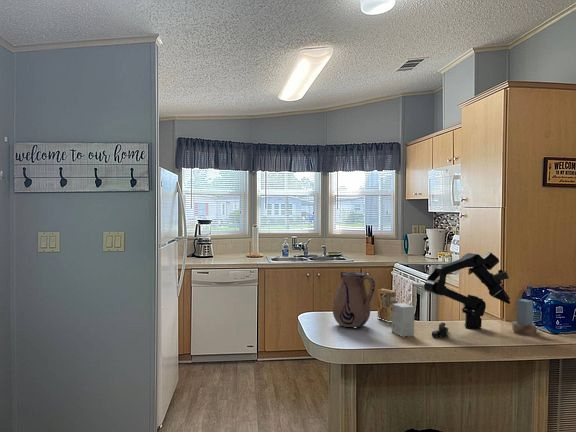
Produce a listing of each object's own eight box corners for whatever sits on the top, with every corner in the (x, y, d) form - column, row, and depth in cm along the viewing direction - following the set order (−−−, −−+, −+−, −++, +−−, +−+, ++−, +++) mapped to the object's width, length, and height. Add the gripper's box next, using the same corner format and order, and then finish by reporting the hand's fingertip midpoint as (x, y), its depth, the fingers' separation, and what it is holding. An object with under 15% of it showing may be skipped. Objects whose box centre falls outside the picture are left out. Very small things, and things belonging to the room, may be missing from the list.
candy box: (396, 322, 220) (396, 291, 220) (389, 323, 218) (390, 291, 218) (382, 318, 228) (383, 288, 227) (376, 319, 225) (377, 289, 225)
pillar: (526, 325, 203) (526, 301, 203) (516, 323, 207) (517, 299, 207) (532, 324, 205) (532, 300, 205) (523, 322, 209) (523, 299, 209)
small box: (414, 336, 196) (414, 306, 196) (401, 337, 194) (402, 307, 193) (403, 331, 203) (404, 302, 203) (391, 332, 201) (392, 303, 201)
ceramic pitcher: (343, 319, 223) (344, 269, 223) (383, 326, 211) (384, 273, 210) (325, 326, 209) (326, 273, 209) (366, 334, 197) (367, 277, 196)
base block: (513, 334, 204) (514, 325, 204) (512, 329, 212) (512, 320, 212) (536, 336, 200) (536, 327, 200) (533, 331, 209) (533, 323, 209)
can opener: (447, 340, 190) (447, 327, 190) (430, 338, 193) (430, 325, 193) (451, 331, 206) (452, 318, 206) (436, 329, 209) (436, 317, 209)
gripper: (498, 267, 202) (524, 294, 197) (497, 262, 219) (522, 287, 214) (478, 283, 205) (504, 309, 201) (479, 277, 222) (503, 301, 218)
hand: (509, 301), depth 208 cm, fingers open, 9 cm apart
